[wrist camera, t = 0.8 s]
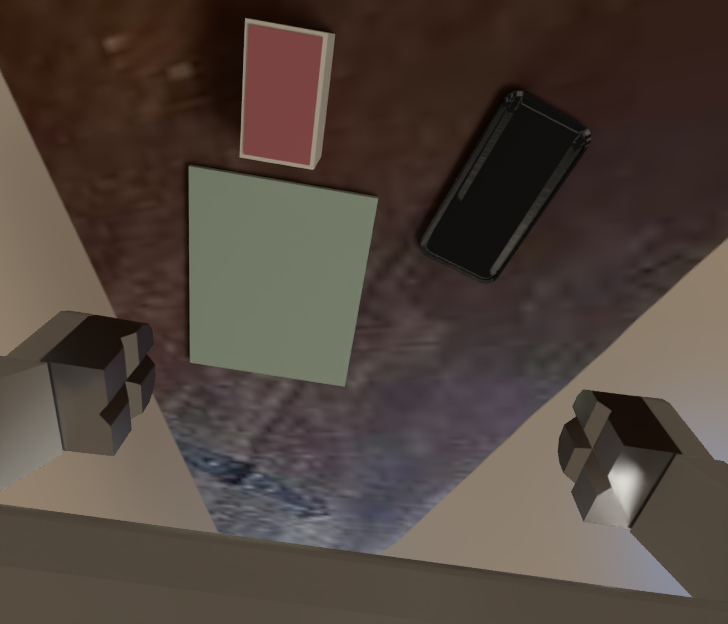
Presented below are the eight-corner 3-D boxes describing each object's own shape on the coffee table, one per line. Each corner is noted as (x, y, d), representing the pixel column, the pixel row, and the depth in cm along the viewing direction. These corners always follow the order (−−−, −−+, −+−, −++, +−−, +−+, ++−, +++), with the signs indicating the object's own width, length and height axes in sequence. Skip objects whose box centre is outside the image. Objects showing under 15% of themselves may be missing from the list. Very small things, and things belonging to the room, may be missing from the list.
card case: (261, 20, 37) (244, 18, 33) (335, 33, 38) (328, 33, 33) (255, 144, 42) (239, 157, 37) (321, 155, 42) (313, 170, 37)
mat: (191, 164, 42) (188, 166, 42) (378, 196, 43) (378, 198, 43) (192, 359, 52) (189, 362, 51) (345, 383, 53) (344, 386, 52)
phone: (597, 133, 39) (490, 287, 46) (592, 131, 40) (488, 282, 47) (512, 84, 38) (415, 250, 44) (509, 83, 39) (414, 246, 45)
